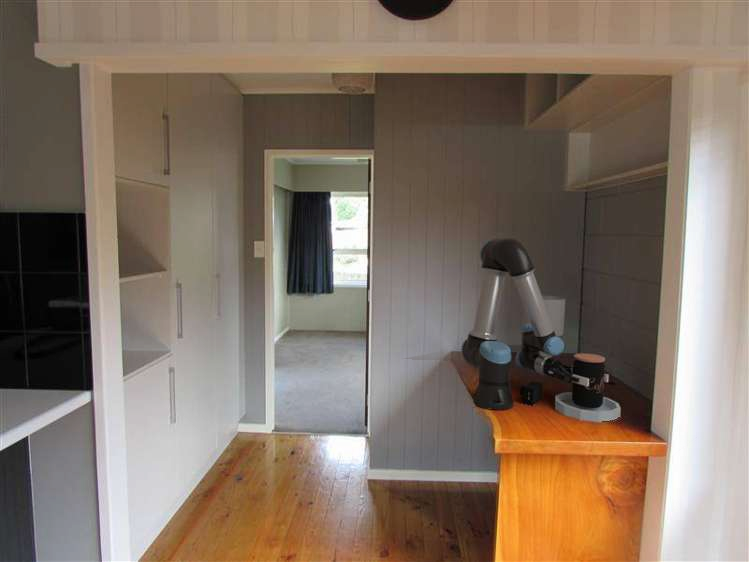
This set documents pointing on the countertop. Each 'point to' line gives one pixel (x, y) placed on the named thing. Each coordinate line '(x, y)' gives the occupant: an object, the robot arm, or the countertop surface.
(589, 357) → the coffee jar
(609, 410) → the bowl
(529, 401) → the digital camera
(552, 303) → the lamp
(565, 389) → the countertop surface
